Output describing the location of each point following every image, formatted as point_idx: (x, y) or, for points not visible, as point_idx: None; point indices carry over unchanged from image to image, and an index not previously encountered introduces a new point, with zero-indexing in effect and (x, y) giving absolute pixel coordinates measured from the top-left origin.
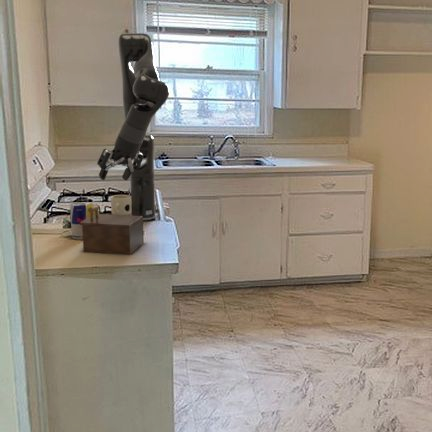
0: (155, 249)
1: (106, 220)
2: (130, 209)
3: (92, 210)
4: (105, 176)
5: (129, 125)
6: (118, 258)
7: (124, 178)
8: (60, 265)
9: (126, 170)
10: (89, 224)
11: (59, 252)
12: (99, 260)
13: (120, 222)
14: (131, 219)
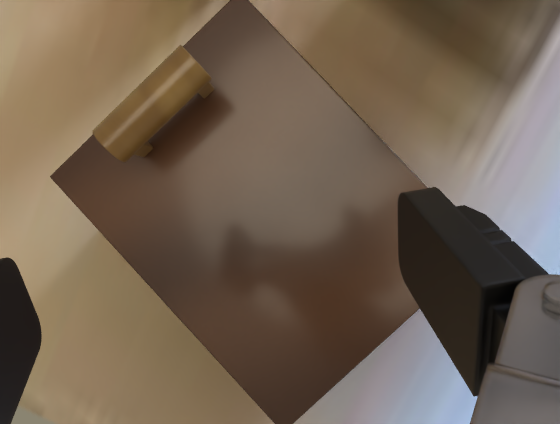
0: (436, 369)
1: (214, 224)
2: None
3: (119, 158)
4: (14, 390)
5: None
6: (219, 393)
7: (405, 253)
8: None
9: (463, 308)
10: (99, 225)
11: (38, 141)
12: (136, 368)
13: (268, 329)
14: (369, 295)
